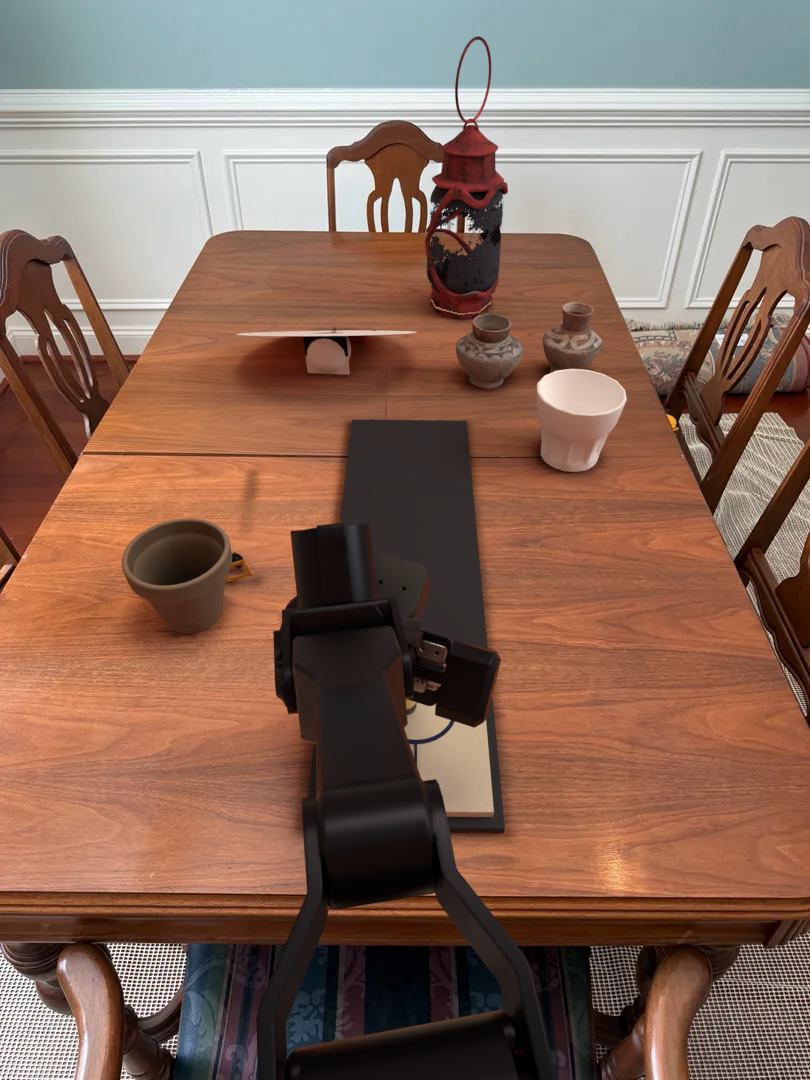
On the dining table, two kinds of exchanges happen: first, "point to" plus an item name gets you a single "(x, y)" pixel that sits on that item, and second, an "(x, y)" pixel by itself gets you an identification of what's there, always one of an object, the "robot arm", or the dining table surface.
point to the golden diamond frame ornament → (238, 563)
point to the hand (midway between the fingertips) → (408, 651)
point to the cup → (577, 416)
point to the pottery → (500, 353)
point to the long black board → (456, 589)
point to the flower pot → (180, 571)
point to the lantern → (467, 187)
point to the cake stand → (327, 347)
